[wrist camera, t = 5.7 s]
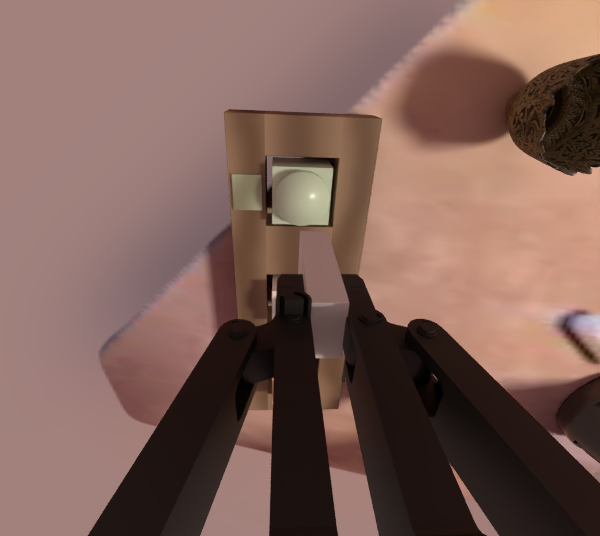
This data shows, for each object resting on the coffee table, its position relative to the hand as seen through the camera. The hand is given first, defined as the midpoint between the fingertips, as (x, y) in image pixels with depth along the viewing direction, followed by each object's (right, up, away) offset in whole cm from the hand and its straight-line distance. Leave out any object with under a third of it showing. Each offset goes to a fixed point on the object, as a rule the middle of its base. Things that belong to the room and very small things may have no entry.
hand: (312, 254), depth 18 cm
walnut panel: (-1, -3, +18) cm, 18 cm away
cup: (+18, +13, +10) cm, 25 cm away
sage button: (-1, +7, +12) cm, 14 cm away
